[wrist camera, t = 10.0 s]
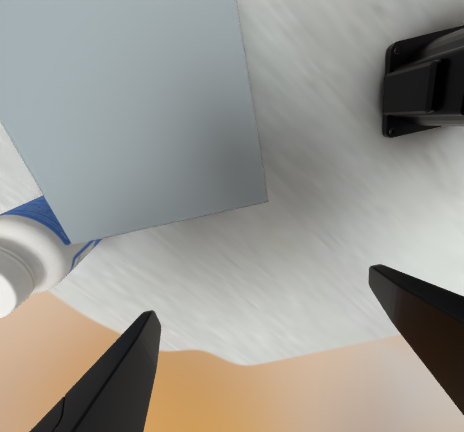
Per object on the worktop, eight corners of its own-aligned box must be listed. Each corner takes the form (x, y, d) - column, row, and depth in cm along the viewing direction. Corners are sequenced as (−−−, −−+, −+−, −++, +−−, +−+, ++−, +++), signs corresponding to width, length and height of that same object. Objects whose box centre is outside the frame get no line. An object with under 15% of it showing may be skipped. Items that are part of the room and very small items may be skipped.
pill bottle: (41, 185, 19) (-123, 243, 10) (106, 184, 19) (5, 240, 10) (60, 241, 21) (-60, 331, 12) (118, 240, 21) (44, 327, 12)
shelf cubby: (218, 1, 15) (217, -121, 7) (250, 170, 19) (268, 201, 12) (61, 41, 15) (-91, -35, 8) (127, 198, 20) (72, 244, 12)
